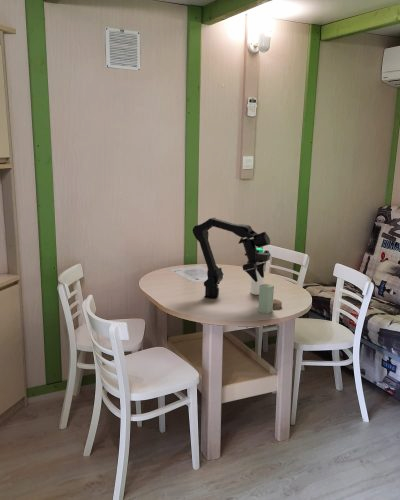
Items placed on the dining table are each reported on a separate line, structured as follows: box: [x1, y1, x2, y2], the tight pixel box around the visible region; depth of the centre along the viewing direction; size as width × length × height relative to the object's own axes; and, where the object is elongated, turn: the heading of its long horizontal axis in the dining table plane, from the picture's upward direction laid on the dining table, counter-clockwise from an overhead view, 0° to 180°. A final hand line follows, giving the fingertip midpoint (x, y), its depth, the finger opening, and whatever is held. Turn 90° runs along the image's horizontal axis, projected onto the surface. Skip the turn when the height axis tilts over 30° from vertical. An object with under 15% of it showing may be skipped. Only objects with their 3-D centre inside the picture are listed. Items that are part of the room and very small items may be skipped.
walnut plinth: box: [273, 298, 283, 310], centre depth 237 cm, size 8×8×2 cm
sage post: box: [257, 283, 275, 315], centre depth 229 cm, size 5×5×13 cm
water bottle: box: [249, 247, 265, 296], centre depth 256 cm, size 7×7×25 cm
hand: (259, 279), depth 237 cm, fingers open, 9 cm apart
